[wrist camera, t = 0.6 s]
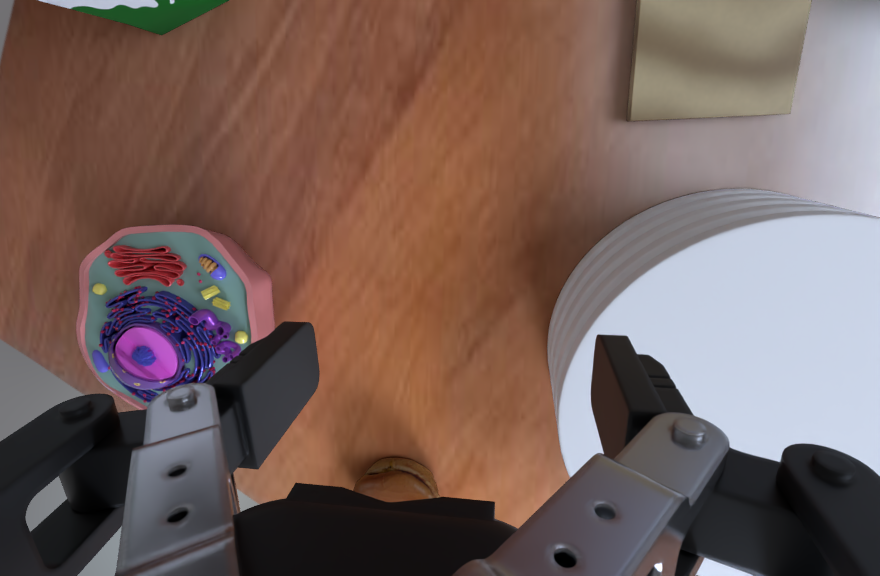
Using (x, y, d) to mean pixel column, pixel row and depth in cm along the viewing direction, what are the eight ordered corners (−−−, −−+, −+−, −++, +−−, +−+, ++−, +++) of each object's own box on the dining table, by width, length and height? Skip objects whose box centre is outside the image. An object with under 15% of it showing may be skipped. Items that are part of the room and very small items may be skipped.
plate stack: (876, 135, 34) (1044, 140, 23) (905, 445, 41) (1042, 557, 30) (509, 249, 41) (507, 293, 30) (589, 497, 48) (611, 603, 37)
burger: (416, 444, 49) (407, 475, 45) (456, 509, 51) (450, 544, 47) (341, 469, 52) (325, 501, 48) (381, 530, 54) (370, 566, 50)
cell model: (341, 284, 44) (287, 333, 34) (238, 406, 51) (166, 478, 41) (201, 163, 43) (97, 175, 32) (113, 306, 49) (4, 355, 39)
